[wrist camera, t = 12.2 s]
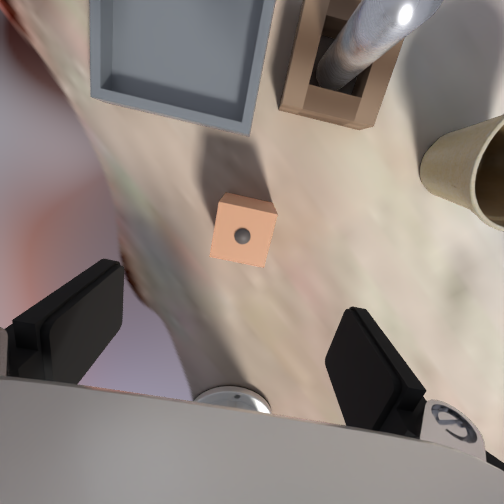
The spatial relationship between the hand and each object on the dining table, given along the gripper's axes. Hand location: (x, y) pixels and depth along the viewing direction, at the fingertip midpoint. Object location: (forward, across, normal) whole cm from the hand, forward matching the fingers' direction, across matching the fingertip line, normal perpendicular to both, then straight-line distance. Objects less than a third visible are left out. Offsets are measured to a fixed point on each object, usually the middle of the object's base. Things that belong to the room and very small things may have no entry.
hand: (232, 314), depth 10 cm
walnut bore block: (+18, -5, -15) cm, 24 cm away
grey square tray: (+18, +8, -15) cm, 24 cm away
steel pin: (+18, -5, -15) cm, 24 cm away
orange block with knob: (+18, 0, 0) cm, 18 cm away
